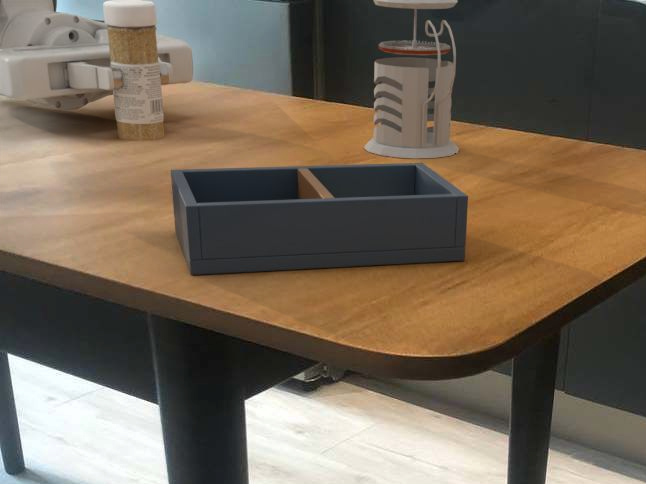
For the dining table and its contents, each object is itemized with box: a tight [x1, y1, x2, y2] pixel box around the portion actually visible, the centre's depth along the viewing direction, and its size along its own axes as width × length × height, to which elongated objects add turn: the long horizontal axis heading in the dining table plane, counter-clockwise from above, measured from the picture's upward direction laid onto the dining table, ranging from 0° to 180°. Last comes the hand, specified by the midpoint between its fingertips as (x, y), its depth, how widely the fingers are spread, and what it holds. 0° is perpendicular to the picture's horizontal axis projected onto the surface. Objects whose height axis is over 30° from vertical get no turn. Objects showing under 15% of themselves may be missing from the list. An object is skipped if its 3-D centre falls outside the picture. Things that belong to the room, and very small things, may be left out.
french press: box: [363, 0, 460, 159], centre depth 104 cm, size 10×12×25 cm
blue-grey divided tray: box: [170, 162, 469, 276], centre depth 77 cm, size 19×11×4 cm, turn 106°
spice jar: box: [102, 0, 165, 142], centre depth 100 cm, size 5×5×14 cm
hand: (142, 76), depth 99 cm, fingers closed on spice jar, 4 cm apart
